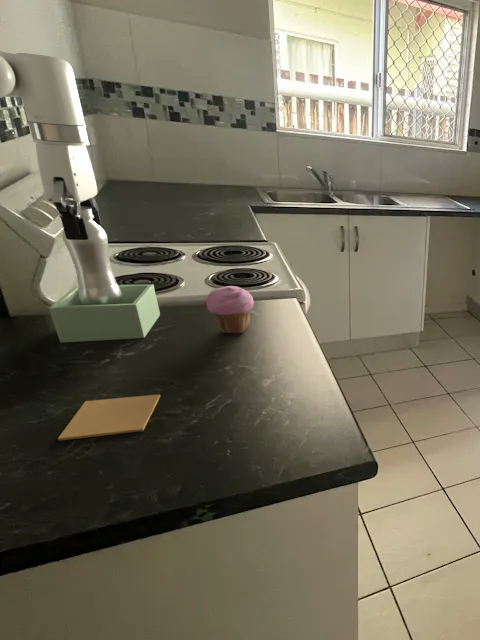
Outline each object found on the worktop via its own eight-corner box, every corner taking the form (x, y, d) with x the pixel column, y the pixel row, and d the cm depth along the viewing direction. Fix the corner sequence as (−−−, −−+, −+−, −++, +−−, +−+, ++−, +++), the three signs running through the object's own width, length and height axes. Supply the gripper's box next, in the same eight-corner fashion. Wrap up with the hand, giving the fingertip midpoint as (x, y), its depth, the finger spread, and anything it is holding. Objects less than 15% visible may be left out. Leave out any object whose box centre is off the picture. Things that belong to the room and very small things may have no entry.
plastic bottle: (123, 310, 97) (100, 211, 89) (80, 314, 93) (52, 211, 85) (125, 300, 101) (103, 205, 93) (83, 303, 98) (57, 204, 90)
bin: (60, 342, 92) (48, 307, 89) (85, 317, 102) (75, 286, 99) (144, 337, 97) (136, 304, 94) (160, 314, 107) (153, 284, 104)
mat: (58, 440, 67) (57, 438, 67) (86, 403, 75) (85, 401, 75) (143, 431, 71) (142, 428, 70) (160, 396, 79) (160, 394, 79)
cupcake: (250, 338, 101) (244, 294, 97) (205, 339, 99) (196, 293, 95) (261, 322, 109) (256, 280, 104) (219, 322, 107) (212, 280, 103)
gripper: (55, 130, 90) (79, 225, 97) (6, 134, 75) (39, 245, 83) (104, 134, 93) (124, 226, 100) (66, 139, 78) (92, 246, 85)
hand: (85, 234), depth 91 cm, fingers closed on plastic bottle, 6 cm apart
